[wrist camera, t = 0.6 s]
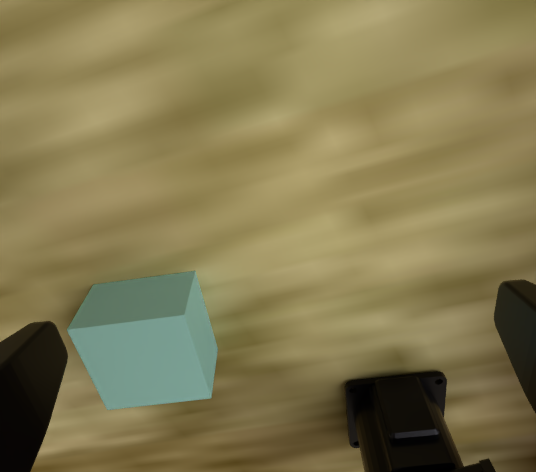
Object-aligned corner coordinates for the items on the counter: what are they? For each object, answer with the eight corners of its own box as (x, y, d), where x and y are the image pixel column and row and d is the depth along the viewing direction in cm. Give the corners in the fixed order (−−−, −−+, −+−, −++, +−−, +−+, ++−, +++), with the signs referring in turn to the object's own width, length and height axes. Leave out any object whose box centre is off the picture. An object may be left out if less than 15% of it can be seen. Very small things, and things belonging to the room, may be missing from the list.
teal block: (218, 346, 28) (211, 398, 24) (127, 357, 28) (107, 410, 25) (195, 269, 25) (184, 314, 21) (94, 282, 25) (66, 329, 22)
